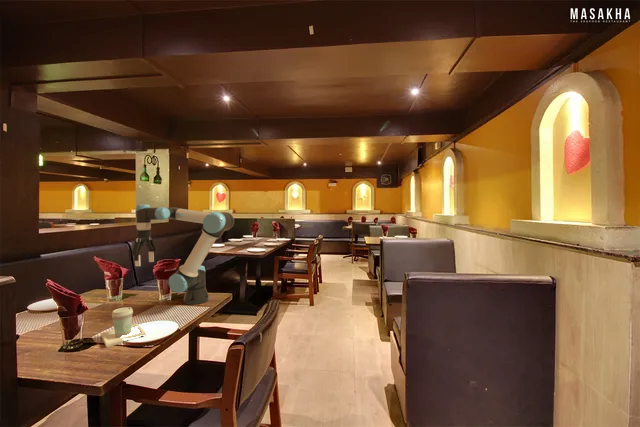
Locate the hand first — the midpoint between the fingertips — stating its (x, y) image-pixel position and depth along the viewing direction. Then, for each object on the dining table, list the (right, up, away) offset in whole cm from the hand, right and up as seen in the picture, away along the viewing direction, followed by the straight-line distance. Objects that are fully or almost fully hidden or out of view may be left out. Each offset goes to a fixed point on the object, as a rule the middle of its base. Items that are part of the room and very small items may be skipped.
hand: (144, 264), depth 177 cm
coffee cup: (+15, -27, -41) cm, 51 cm away
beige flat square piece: (+15, -27, -41) cm, 52 cm away
